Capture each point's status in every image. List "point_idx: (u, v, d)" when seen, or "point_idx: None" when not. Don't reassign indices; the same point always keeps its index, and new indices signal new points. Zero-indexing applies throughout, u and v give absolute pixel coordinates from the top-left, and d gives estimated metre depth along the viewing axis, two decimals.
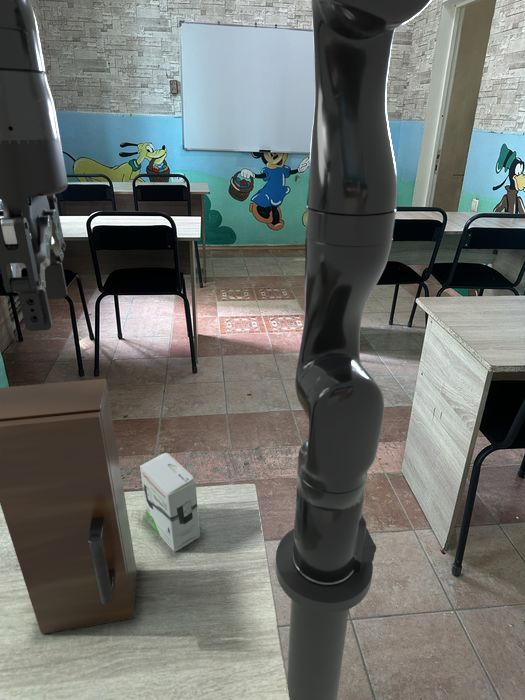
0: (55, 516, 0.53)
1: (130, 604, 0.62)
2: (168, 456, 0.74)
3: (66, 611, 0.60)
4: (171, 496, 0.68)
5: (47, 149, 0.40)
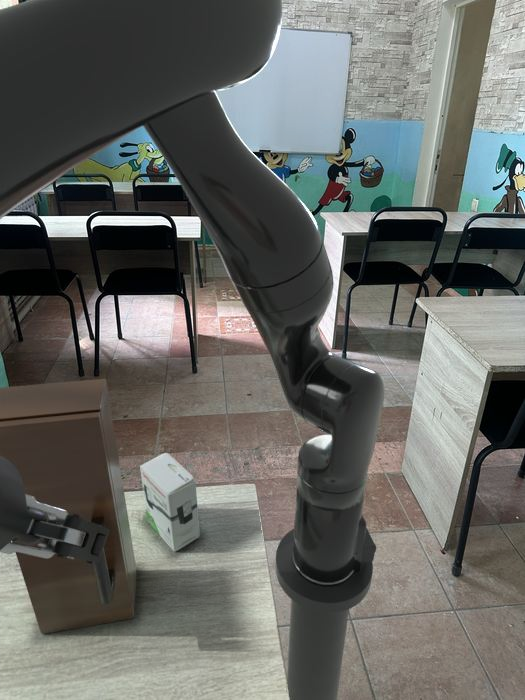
0: None
1: (130, 604, 0.62)
2: (168, 456, 0.74)
3: (66, 611, 0.60)
4: (171, 496, 0.68)
5: None
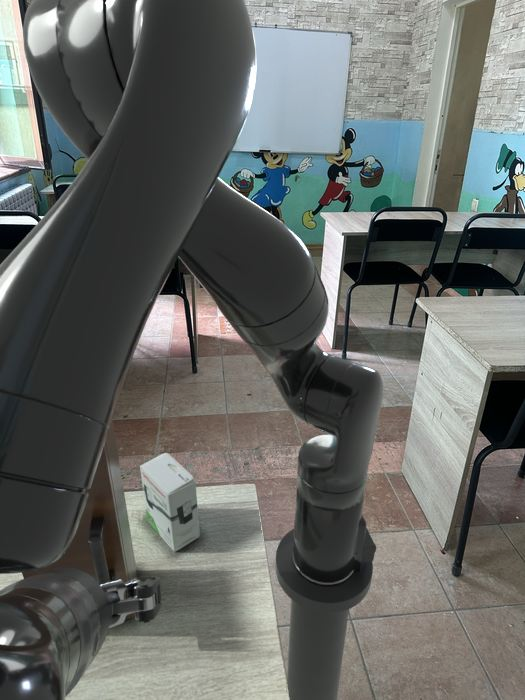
0: None
1: None
2: (168, 456, 0.74)
3: None
4: (171, 496, 0.68)
5: (77, 578, 0.34)
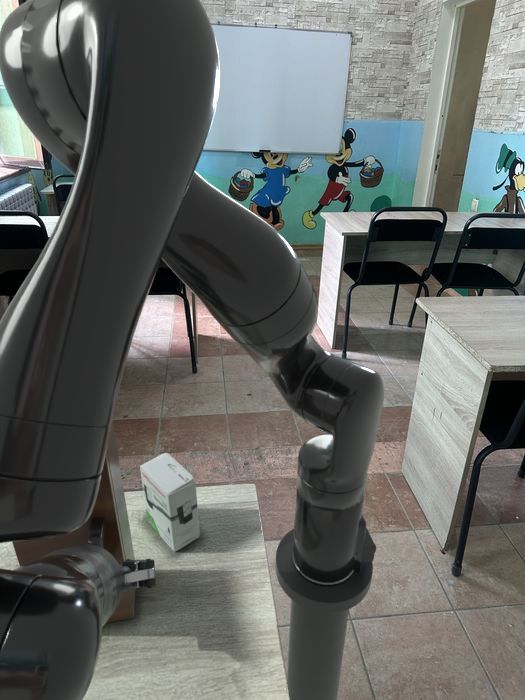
0: None
1: (130, 604, 0.62)
2: (168, 456, 0.74)
3: None
4: (171, 496, 0.68)
5: (98, 551, 0.42)
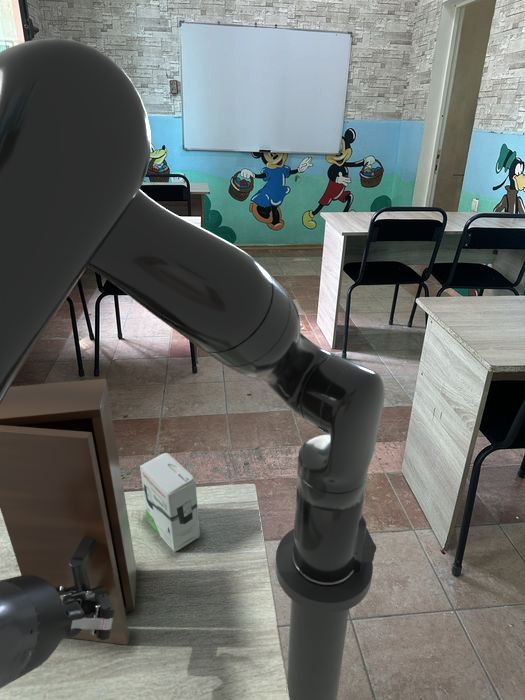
0: (48, 527, 0.52)
1: (123, 630, 0.58)
2: (168, 456, 0.74)
3: None
4: (171, 496, 0.68)
5: (33, 594, 0.39)
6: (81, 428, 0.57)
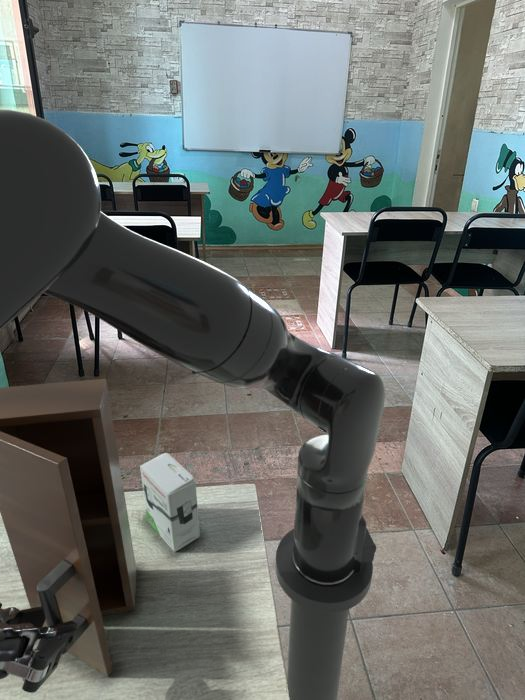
0: (36, 539, 0.50)
1: (103, 662, 0.55)
2: (168, 456, 0.74)
3: None
4: (171, 496, 0.68)
5: None
6: (81, 428, 0.57)
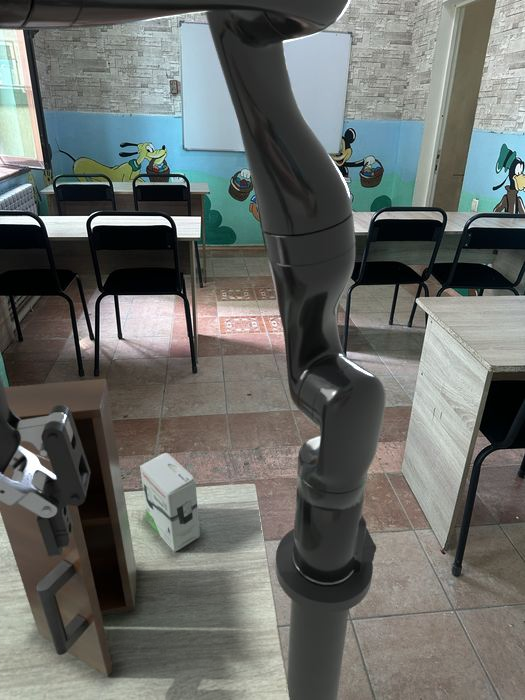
0: (36, 539, 0.50)
1: (103, 662, 0.55)
2: (168, 456, 0.74)
3: None
4: (171, 496, 0.68)
5: None
6: (81, 428, 0.57)
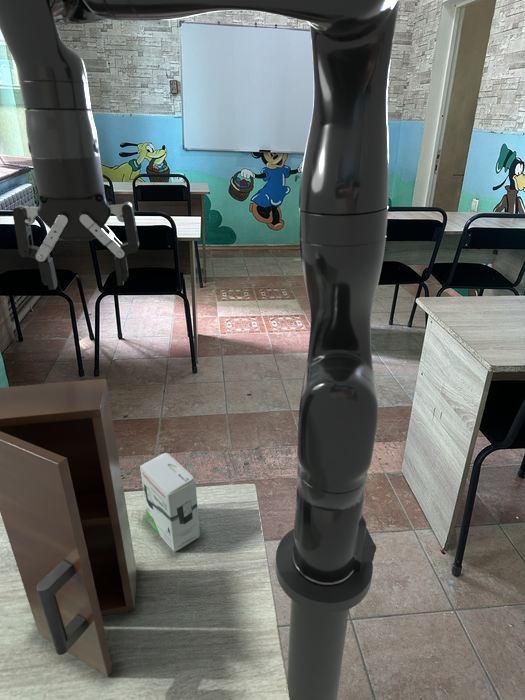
0: (36, 539, 0.50)
1: (103, 662, 0.55)
2: (168, 456, 0.74)
3: None
4: (171, 496, 0.68)
5: None
6: (81, 428, 0.57)
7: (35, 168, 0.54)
